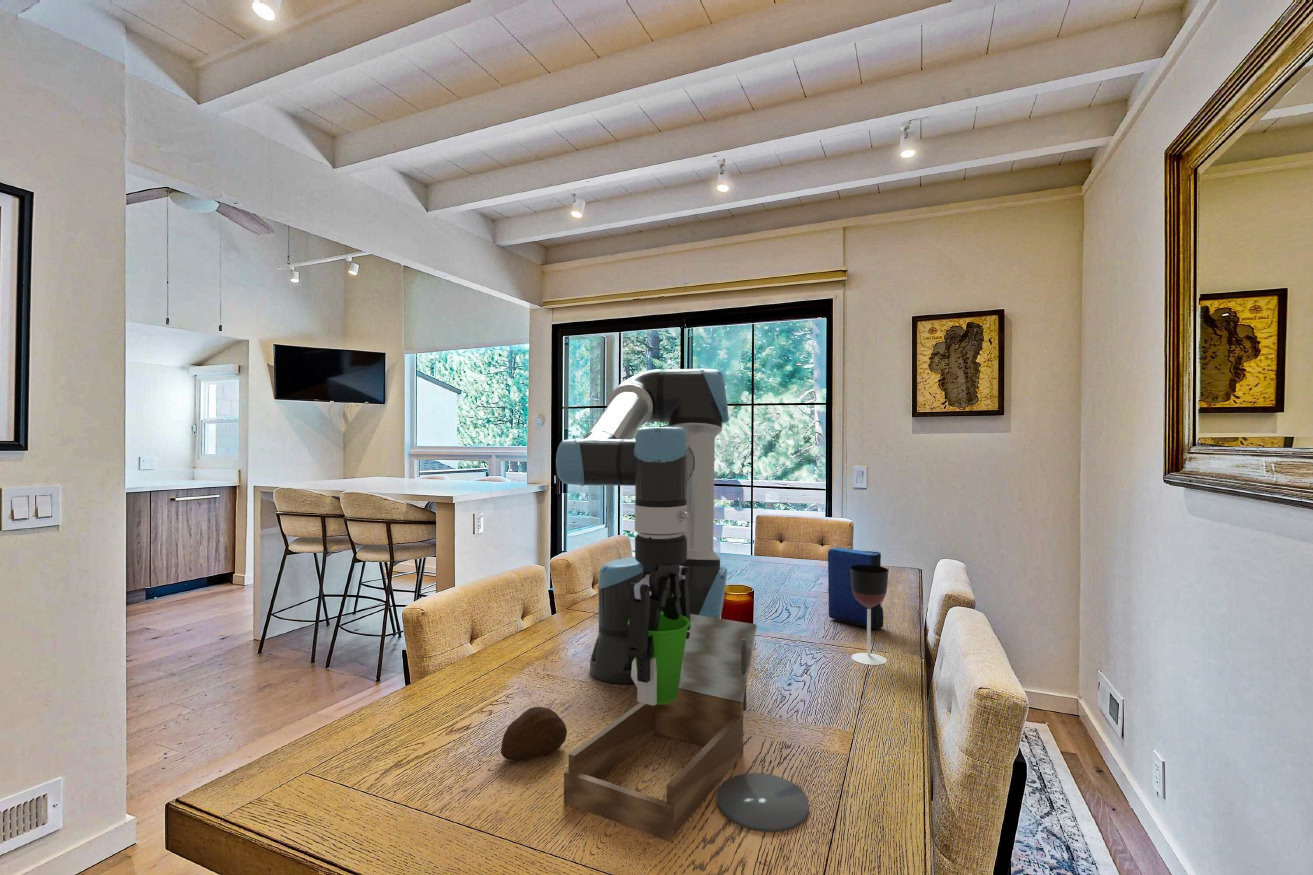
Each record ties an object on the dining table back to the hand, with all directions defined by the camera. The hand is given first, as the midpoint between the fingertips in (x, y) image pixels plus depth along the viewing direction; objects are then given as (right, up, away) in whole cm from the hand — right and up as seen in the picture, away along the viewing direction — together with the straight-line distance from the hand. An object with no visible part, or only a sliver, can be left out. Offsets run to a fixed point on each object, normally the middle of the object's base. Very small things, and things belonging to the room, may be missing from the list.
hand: (660, 691), depth 88 cm
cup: (0, -1, 0) cm, 1 cm away
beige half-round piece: (0, -12, +27) cm, 30 cm away
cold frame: (+1, -12, +2) cm, 12 cm away
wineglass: (+47, -13, +48) cm, 68 cm away
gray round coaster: (+13, -12, -7) cm, 19 cm away
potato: (-20, -12, +6) cm, 24 cm away
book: (+52, -13, +73) cm, 91 cm away
